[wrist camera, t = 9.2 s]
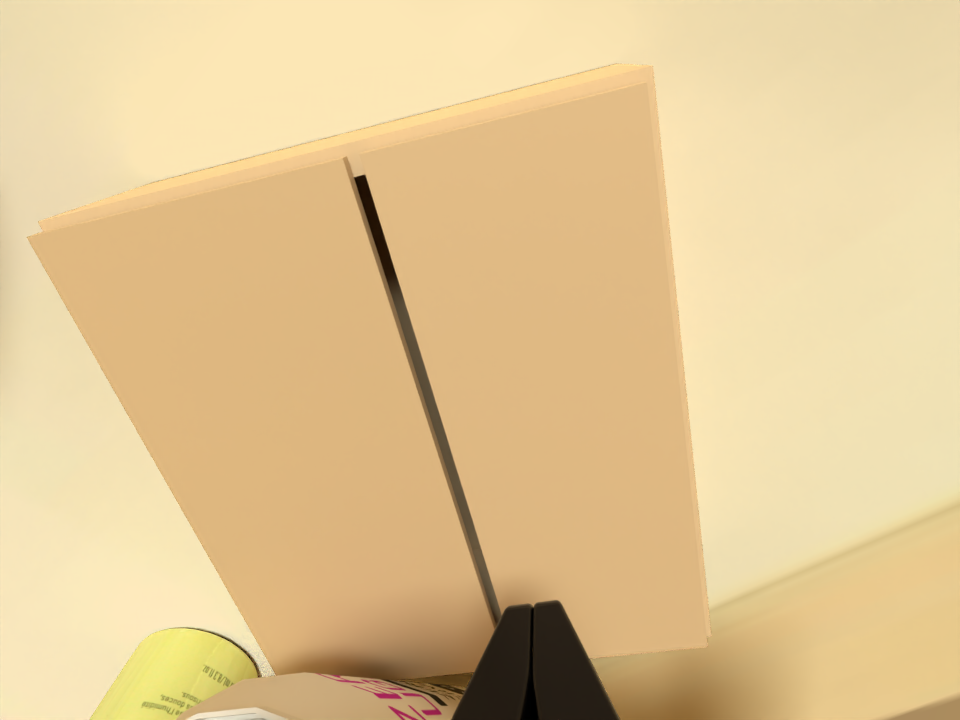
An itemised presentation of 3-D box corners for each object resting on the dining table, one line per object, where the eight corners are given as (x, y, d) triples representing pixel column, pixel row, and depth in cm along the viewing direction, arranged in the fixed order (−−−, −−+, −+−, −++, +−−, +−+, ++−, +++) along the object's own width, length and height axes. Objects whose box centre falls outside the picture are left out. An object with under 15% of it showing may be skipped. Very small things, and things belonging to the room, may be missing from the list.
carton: (616, 63, 14) (658, 65, 10) (674, 526, 20) (716, 651, 16) (152, 182, 16) (20, 227, 12) (332, 574, 22) (288, 696, 17)
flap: (643, 81, 10) (646, 82, 10) (704, 636, 16) (707, 646, 16) (363, 151, 11) (359, 153, 11) (517, 655, 17) (517, 665, 16)
